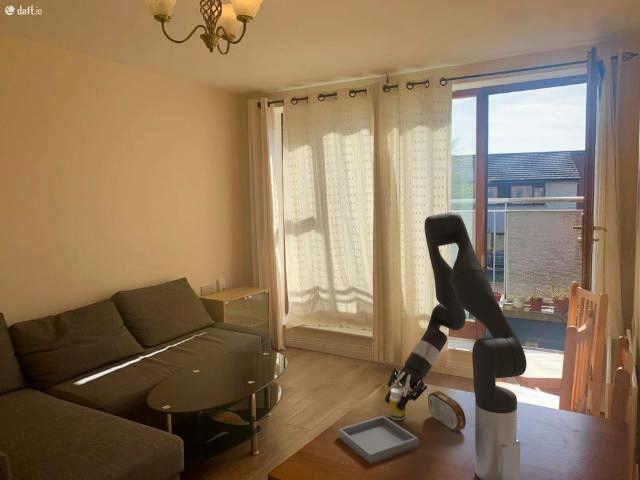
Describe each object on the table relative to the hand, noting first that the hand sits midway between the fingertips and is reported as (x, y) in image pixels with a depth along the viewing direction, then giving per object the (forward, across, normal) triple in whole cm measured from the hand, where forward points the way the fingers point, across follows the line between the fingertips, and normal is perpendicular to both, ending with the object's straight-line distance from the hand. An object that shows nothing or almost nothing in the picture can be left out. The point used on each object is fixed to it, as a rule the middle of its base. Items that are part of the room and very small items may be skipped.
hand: (392, 405), depth 143 cm
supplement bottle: (+2, 0, +4) cm, 5 cm away
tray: (+12, +8, -6) cm, 16 cm away
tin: (-4, +11, +11) cm, 16 cm away
